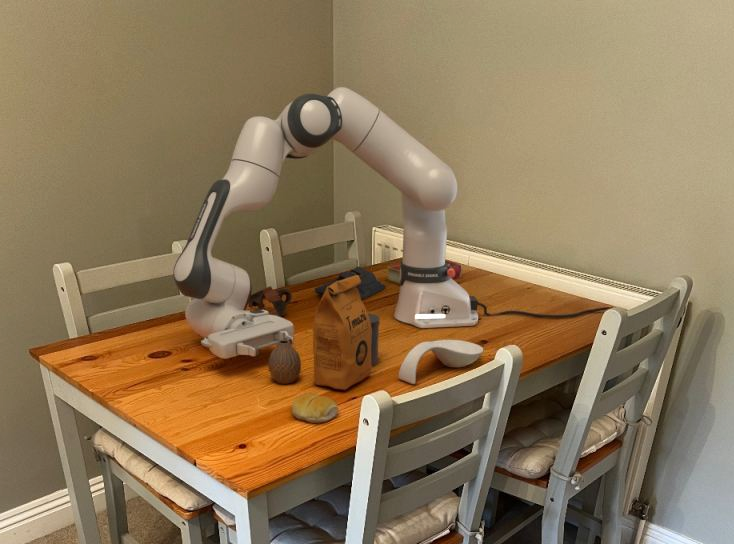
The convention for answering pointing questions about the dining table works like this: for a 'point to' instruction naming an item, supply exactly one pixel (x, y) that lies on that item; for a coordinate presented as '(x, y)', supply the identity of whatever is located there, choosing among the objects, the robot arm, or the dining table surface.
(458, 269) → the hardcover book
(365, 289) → the folded navy cloth
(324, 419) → the bread roll
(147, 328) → the dining table surface
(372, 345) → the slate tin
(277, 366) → the vase
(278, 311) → the brown grey irregular piece
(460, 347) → the spoon rest
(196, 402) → the dining table surface
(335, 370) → the coffee package
